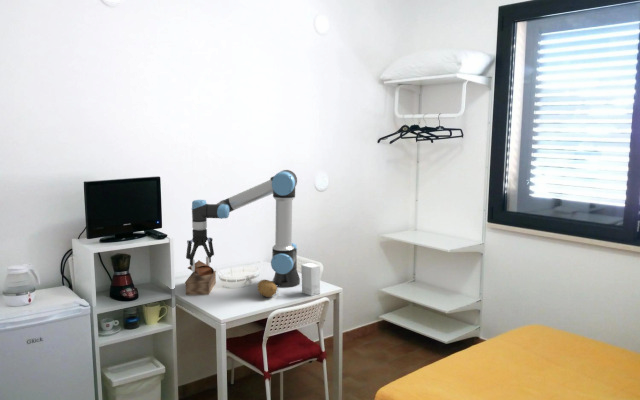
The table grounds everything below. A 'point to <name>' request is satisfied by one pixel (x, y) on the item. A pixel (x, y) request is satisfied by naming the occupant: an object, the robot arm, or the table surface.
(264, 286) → the potato
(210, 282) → the walnut box
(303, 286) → the skincare box
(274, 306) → the table surface
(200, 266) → the sunglasses case
